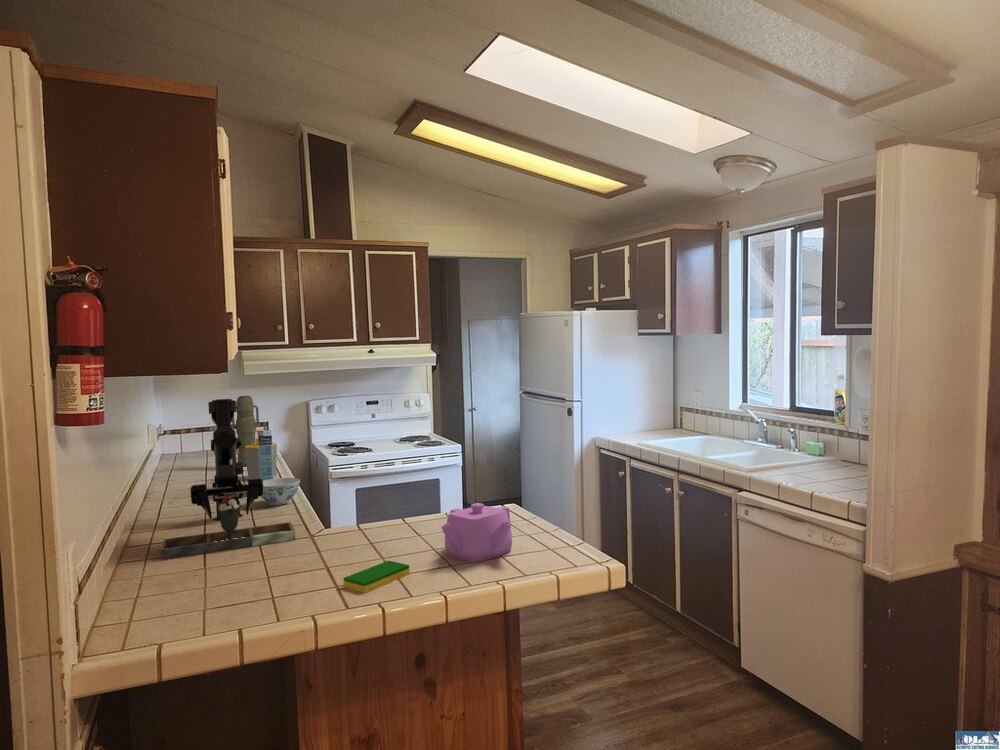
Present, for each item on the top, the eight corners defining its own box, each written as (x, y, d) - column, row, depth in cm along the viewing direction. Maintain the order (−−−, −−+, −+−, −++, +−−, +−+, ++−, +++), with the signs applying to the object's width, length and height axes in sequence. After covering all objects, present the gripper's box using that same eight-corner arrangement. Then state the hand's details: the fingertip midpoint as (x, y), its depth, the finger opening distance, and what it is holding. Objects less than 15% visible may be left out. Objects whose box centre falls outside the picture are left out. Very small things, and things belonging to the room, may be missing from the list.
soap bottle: (251, 476, 282) (248, 429, 282) (281, 474, 284) (279, 427, 283) (242, 482, 269) (240, 432, 269) (274, 480, 271) (271, 431, 270)
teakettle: (511, 541, 168) (509, 495, 168) (513, 562, 151) (511, 510, 151) (447, 544, 168) (445, 498, 168) (442, 565, 151) (440, 513, 151)
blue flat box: (261, 487, 257) (258, 431, 256) (274, 485, 259) (271, 430, 258) (260, 496, 239) (257, 436, 238) (274, 495, 240) (271, 434, 240)
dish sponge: (410, 575, 146) (410, 564, 146) (365, 594, 135) (364, 583, 135) (389, 570, 150) (388, 560, 150) (342, 588, 139) (342, 577, 139)
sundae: (218, 549, 171) (215, 494, 171) (216, 543, 177) (214, 489, 177) (244, 545, 174) (241, 490, 174) (242, 539, 180) (239, 486, 180)
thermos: (263, 468, 304) (259, 395, 303) (237, 471, 298) (233, 397, 297) (259, 465, 312) (255, 395, 311) (233, 469, 305) (229, 396, 304)
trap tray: (161, 559, 164) (160, 550, 164) (164, 548, 174) (164, 539, 174) (295, 540, 177) (295, 531, 177) (290, 530, 188) (290, 522, 188)
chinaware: (284, 497, 236) (283, 476, 236) (309, 501, 227) (308, 479, 227) (247, 505, 224) (246, 483, 224) (273, 510, 215) (271, 487, 215)
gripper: (188, 456, 175) (189, 504, 165) (261, 450, 182) (265, 495, 173) (191, 480, 182) (192, 527, 172) (260, 473, 190) (265, 517, 180)
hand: (229, 516), depth 174 cm, fingers open, 9 cm apart
